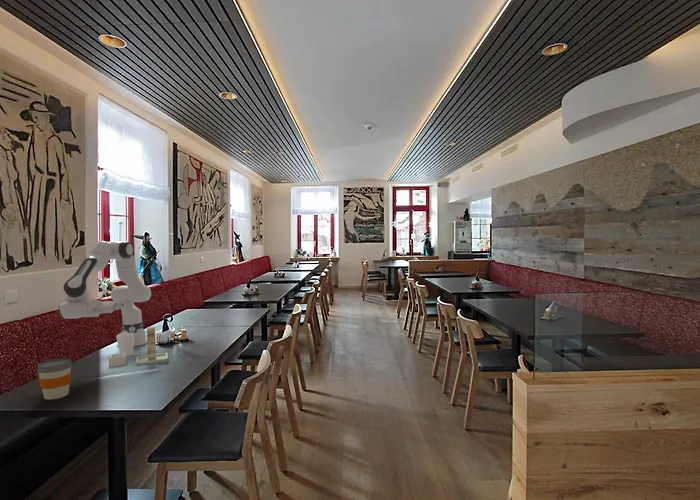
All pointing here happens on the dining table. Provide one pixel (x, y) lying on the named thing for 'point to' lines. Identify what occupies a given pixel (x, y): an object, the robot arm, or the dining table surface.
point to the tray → (160, 359)
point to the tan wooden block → (151, 343)
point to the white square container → (117, 359)
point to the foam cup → (126, 343)
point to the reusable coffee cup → (55, 377)
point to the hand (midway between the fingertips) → (123, 305)
